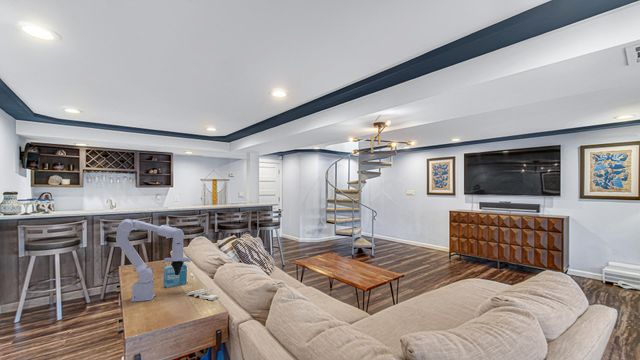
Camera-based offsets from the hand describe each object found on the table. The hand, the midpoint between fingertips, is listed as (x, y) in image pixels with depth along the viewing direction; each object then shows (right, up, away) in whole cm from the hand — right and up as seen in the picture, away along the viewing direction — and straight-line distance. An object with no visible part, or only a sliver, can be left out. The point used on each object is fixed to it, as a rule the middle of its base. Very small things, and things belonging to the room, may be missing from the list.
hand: (177, 274), depth 160 cm
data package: (-8, -11, +13) cm, 19 cm away
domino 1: (+8, -10, -3) cm, 13 cm away
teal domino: (+17, -10, -6) cm, 21 cm away
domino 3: (+17, -9, -6) cm, 20 cm away
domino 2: (+13, -10, -4) cm, 17 cm away
